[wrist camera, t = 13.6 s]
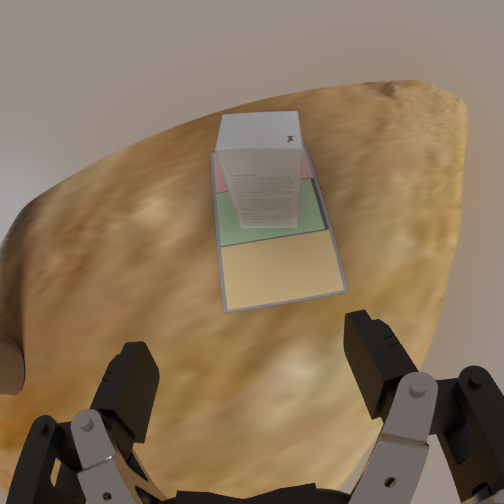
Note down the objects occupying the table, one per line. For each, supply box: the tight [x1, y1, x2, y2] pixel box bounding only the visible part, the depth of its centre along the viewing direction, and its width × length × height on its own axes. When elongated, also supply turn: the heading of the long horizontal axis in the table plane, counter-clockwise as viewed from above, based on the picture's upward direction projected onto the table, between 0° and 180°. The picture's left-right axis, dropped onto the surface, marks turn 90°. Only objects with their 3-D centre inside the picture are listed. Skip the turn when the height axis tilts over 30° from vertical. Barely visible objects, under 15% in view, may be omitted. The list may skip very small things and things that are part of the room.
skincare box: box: [215, 111, 303, 229], centre depth 23 cm, size 6×4×12 cm
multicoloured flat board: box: [210, 138, 348, 313], centre depth 29 cm, size 12×20×1 cm, turn 8°
